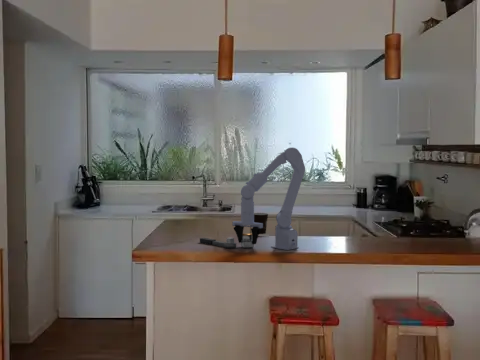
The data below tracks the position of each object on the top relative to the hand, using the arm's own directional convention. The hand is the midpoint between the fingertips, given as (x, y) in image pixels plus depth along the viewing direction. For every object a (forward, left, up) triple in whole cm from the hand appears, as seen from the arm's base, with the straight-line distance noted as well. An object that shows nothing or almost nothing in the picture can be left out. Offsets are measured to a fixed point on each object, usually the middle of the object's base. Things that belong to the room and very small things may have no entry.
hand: (247, 243), depth 241 cm
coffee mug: (+25, -35, -2) cm, 43 cm away
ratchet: (+13, +6, -2) cm, 14 cm away
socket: (0, 0, -1) cm, 1 cm away
